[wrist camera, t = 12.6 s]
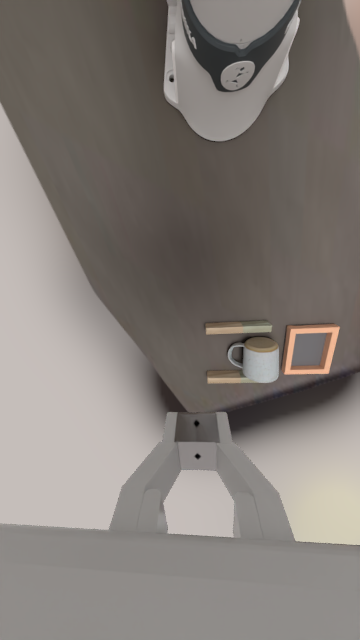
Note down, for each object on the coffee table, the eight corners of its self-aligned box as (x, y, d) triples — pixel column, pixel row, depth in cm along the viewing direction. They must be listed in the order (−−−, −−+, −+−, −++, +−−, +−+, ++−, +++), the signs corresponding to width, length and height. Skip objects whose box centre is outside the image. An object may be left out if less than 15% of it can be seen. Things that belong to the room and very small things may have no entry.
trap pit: (286, 325, 43) (290, 329, 41) (333, 323, 42) (339, 327, 40) (280, 369, 47) (284, 374, 45) (323, 368, 46) (328, 373, 44)
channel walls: (205, 323, 44) (206, 328, 41) (266, 320, 43) (271, 325, 40) (207, 375, 50) (207, 383, 47) (261, 374, 48) (266, 382, 45)
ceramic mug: (272, 333, 44) (286, 350, 37) (270, 362, 47) (284, 383, 40) (226, 337, 45) (231, 354, 38) (227, 365, 48) (232, 386, 41)
